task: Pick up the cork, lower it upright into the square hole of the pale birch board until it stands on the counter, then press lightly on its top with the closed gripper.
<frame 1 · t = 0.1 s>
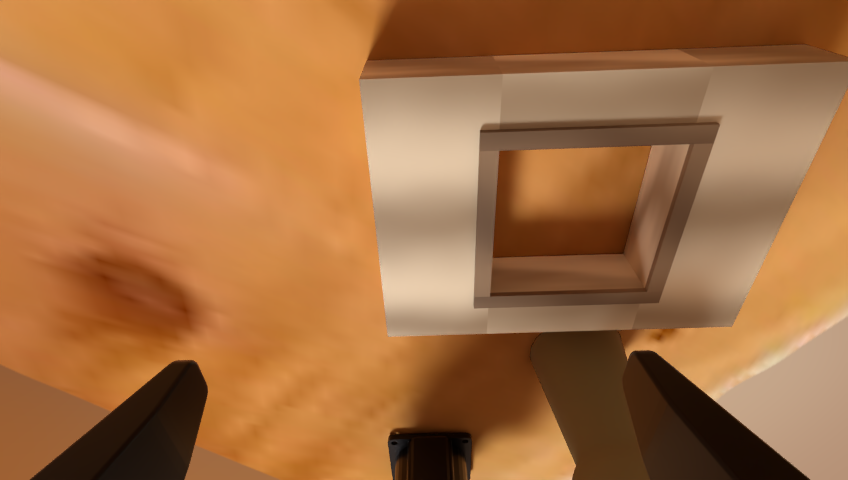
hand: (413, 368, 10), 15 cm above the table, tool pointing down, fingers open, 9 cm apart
socket board: (562, 194, 24), on the table
cork: (574, 348, 31), on the table
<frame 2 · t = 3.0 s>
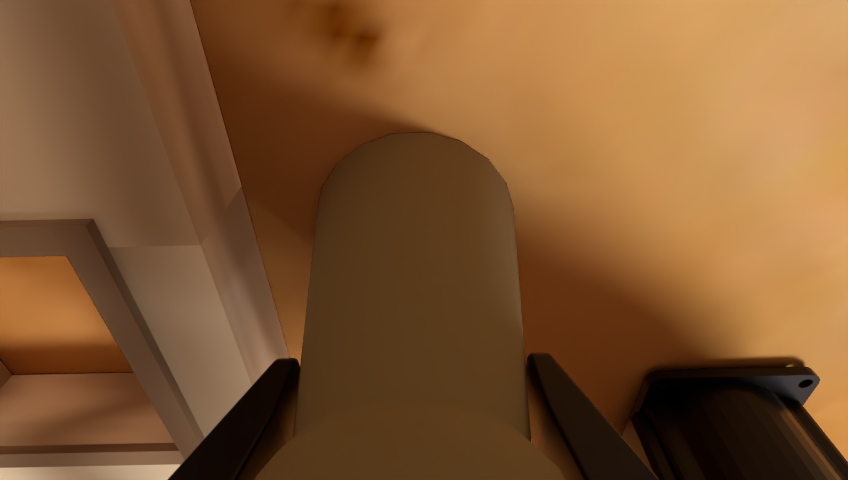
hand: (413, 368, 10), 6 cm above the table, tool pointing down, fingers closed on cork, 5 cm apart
socket board: (66, 295, 16), on the table
cork: (415, 222, 14), on the table, touching gripper
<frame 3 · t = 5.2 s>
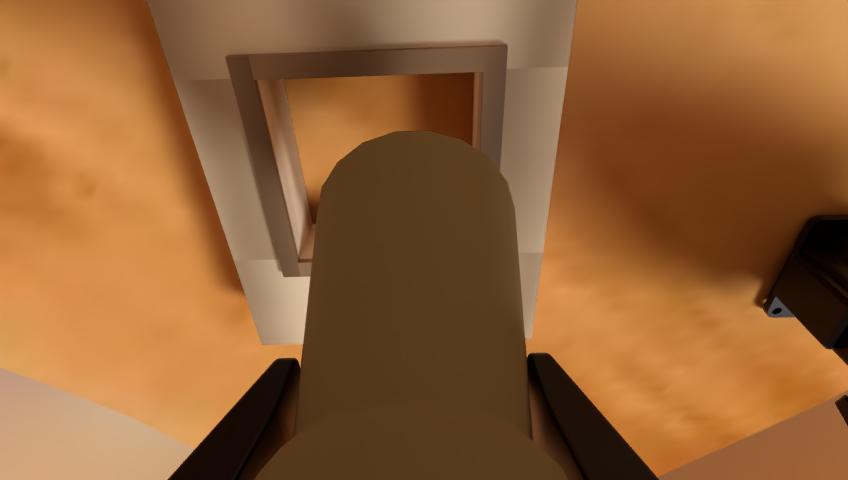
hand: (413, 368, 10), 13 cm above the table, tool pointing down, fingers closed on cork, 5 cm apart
socket board: (384, 147, 21), on the table
cork: (416, 220, 14), point 8 cm above the table, touching gripper
when the fingers open (7 cm above the table, at t = 7.6 s): cork drops 1 cm, resting in socket board.
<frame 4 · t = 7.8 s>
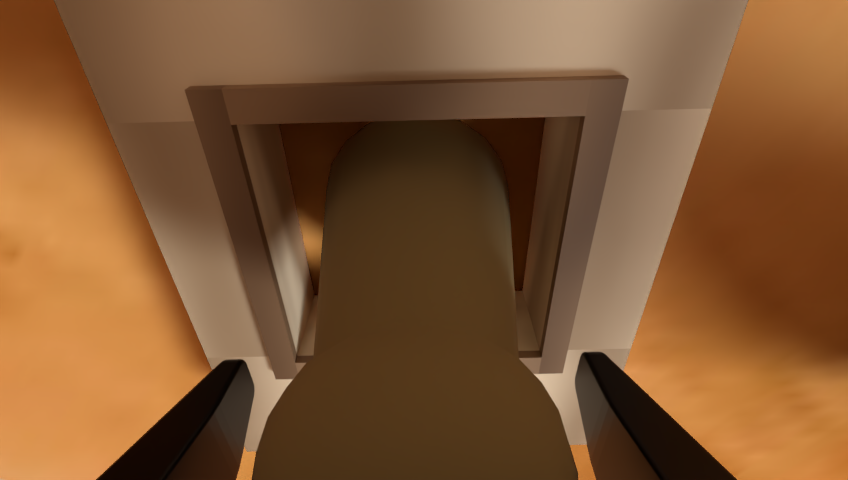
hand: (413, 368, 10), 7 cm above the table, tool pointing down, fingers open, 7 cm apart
socket board: (414, 202, 15), on the table
cork: (417, 197, 15), resting in socket board
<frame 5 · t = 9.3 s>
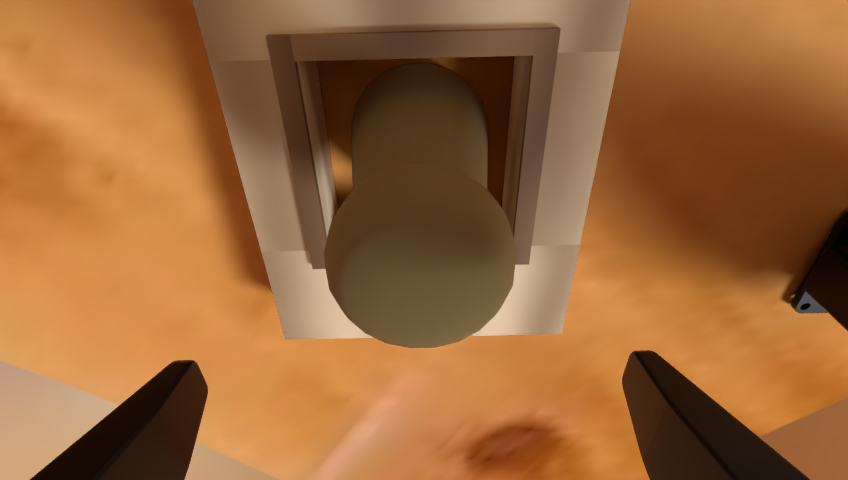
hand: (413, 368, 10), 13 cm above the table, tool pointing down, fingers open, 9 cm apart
socket board: (417, 135, 20), on the table
cork: (419, 132, 20), resting in socket board
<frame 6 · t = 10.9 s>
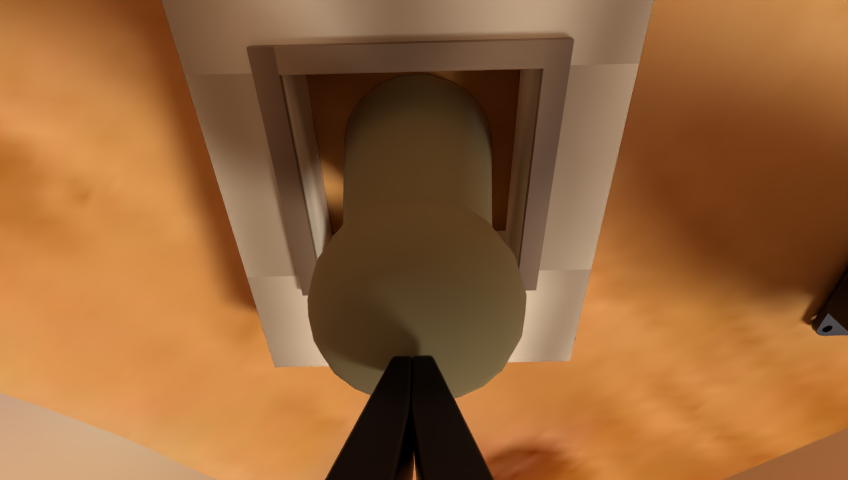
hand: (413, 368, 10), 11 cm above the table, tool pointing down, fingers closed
socket board: (415, 151, 19), on the table
cork: (418, 147, 19), resting in socket board
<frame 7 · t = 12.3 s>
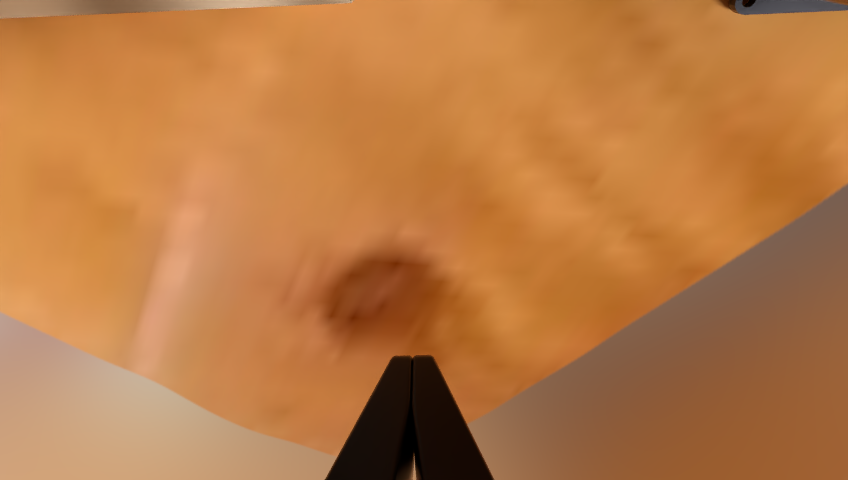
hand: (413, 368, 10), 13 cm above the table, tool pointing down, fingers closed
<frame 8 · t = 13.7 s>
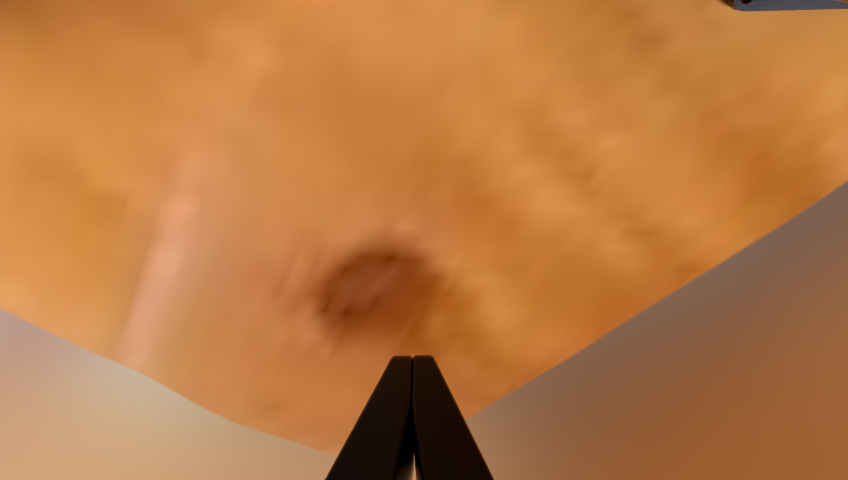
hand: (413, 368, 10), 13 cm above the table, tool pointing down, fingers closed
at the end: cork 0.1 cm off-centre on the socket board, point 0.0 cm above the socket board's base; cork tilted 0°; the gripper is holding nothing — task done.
